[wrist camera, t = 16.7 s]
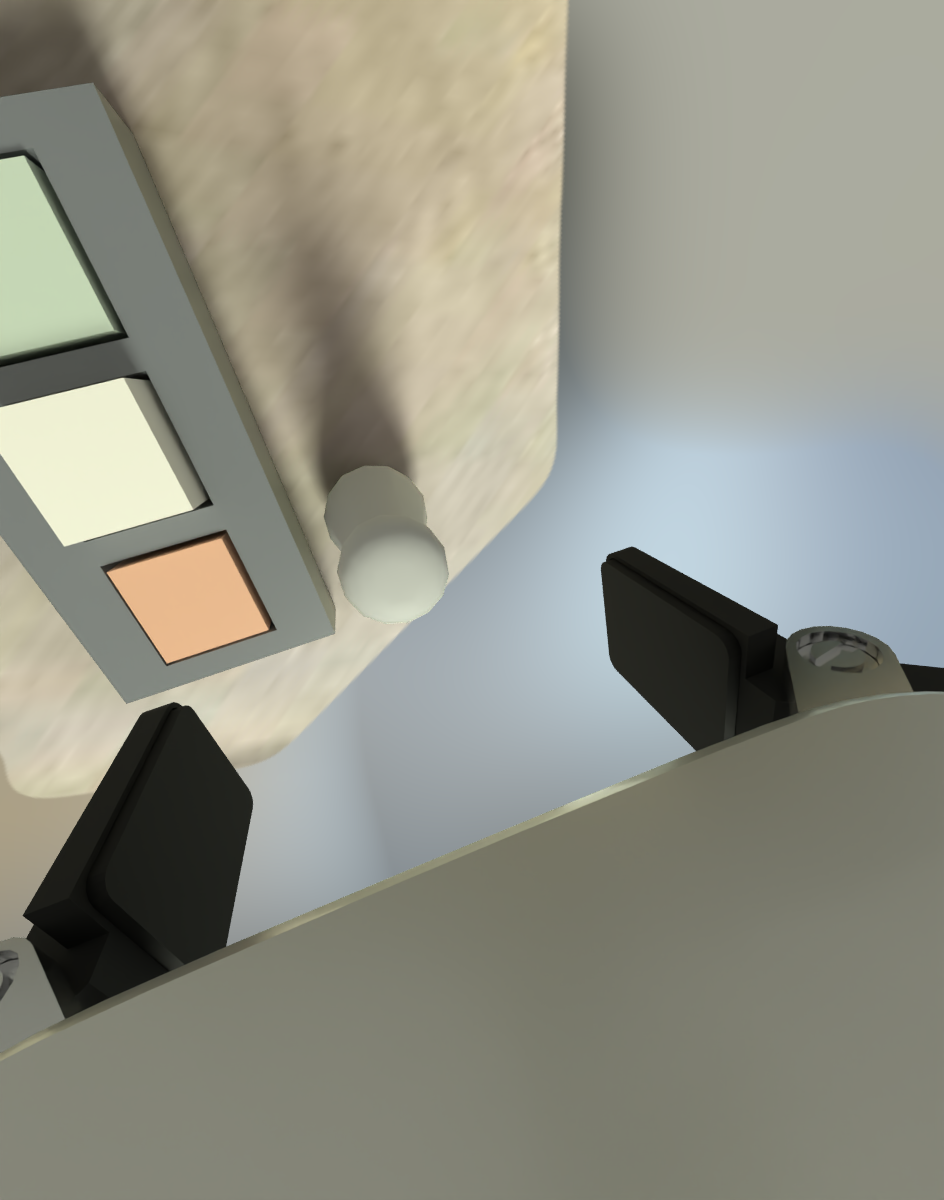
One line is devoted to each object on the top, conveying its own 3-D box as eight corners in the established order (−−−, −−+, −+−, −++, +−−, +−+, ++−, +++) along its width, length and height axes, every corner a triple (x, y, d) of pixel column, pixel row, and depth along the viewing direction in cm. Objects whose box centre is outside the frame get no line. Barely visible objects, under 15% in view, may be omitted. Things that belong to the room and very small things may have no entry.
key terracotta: (135, 551, 26) (106, 572, 22) (235, 521, 26) (221, 538, 23) (186, 633, 28) (166, 663, 25) (276, 604, 29) (268, 630, 26)
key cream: (29, 412, 21) (-28, 414, 18) (155, 381, 21) (123, 377, 18) (101, 526, 23) (64, 546, 20) (212, 495, 24) (193, 509, 21)
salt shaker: (365, 439, 27) (385, 466, 15) (437, 501, 29) (502, 564, 18) (305, 516, 27) (282, 597, 16) (381, 569, 30) (408, 673, 19)
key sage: (-67, 222, 19) (-150, 185, 16) (75, 195, 20) (24, 155, 16) (23, 369, 21) (-32, 363, 18) (146, 340, 22) (113, 330, 19)
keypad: (-181, 189, 18) (-294, 143, 15) (132, 134, 20) (93, 82, 16) (150, 670, 29) (126, 703, 25) (335, 609, 30) (334, 633, 27)
